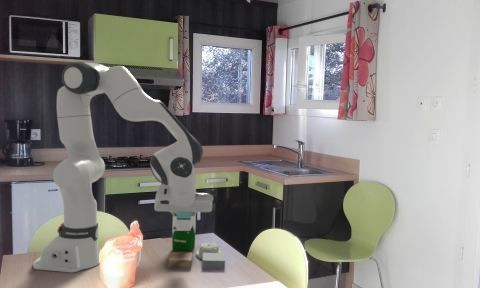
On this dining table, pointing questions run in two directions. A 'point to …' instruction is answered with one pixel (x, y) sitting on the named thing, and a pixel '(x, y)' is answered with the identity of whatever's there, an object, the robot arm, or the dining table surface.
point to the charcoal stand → (213, 261)
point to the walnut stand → (180, 260)
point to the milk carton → (183, 237)
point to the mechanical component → (207, 249)
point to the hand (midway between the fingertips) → (184, 214)
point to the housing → (183, 221)
